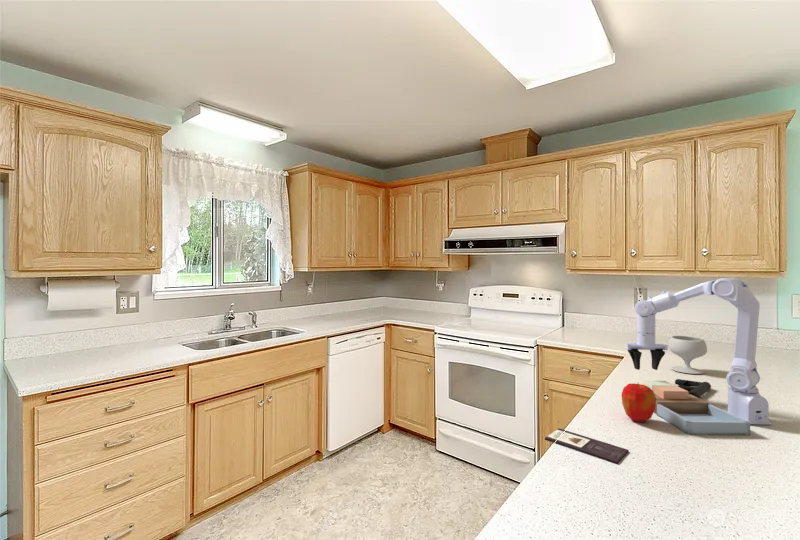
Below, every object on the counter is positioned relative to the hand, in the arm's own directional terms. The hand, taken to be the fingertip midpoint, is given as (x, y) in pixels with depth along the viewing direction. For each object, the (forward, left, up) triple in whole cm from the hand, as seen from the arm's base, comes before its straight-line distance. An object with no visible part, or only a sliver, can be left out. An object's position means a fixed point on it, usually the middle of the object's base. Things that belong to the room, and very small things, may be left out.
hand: (645, 369), depth 142 cm
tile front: (-14, 0, -5) cm, 15 cm away
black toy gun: (+5, -17, -10) cm, 20 cm away
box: (-27, 0, -9) cm, 29 cm away
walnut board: (-11, 0, -9) cm, 14 cm away
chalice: (+32, -38, -10) cm, 51 cm away
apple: (-25, +17, -10) cm, 31 cm away
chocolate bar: (-42, +41, -10) cm, 59 cm away
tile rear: (-8, 0, -5) cm, 9 cm away
